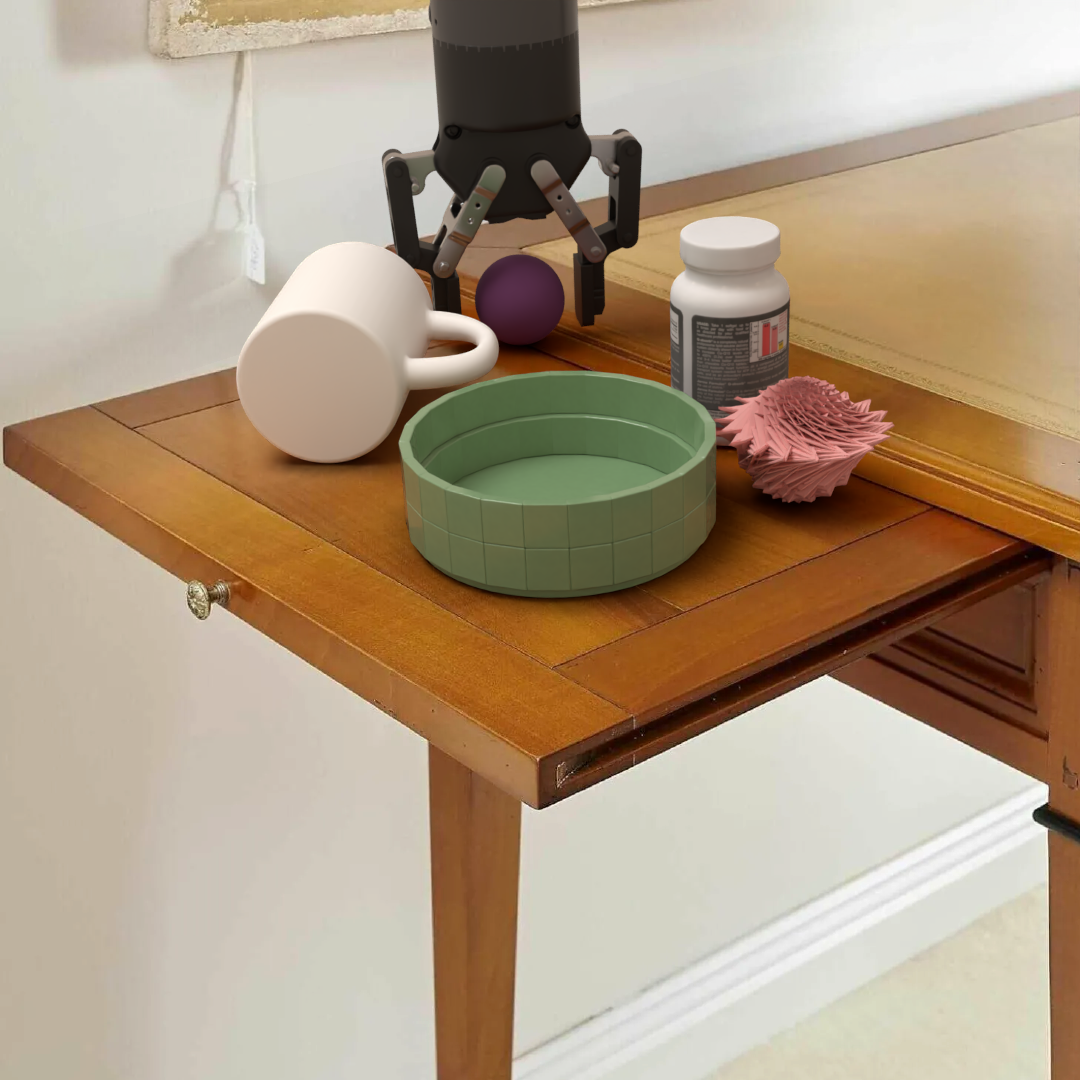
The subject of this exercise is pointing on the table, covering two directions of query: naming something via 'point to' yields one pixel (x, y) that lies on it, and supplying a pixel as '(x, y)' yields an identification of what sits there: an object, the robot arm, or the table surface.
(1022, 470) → the table surface
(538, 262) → the ball
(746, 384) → the pill bottle
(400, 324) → the mug
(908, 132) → the table surface
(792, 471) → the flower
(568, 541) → the bowl
